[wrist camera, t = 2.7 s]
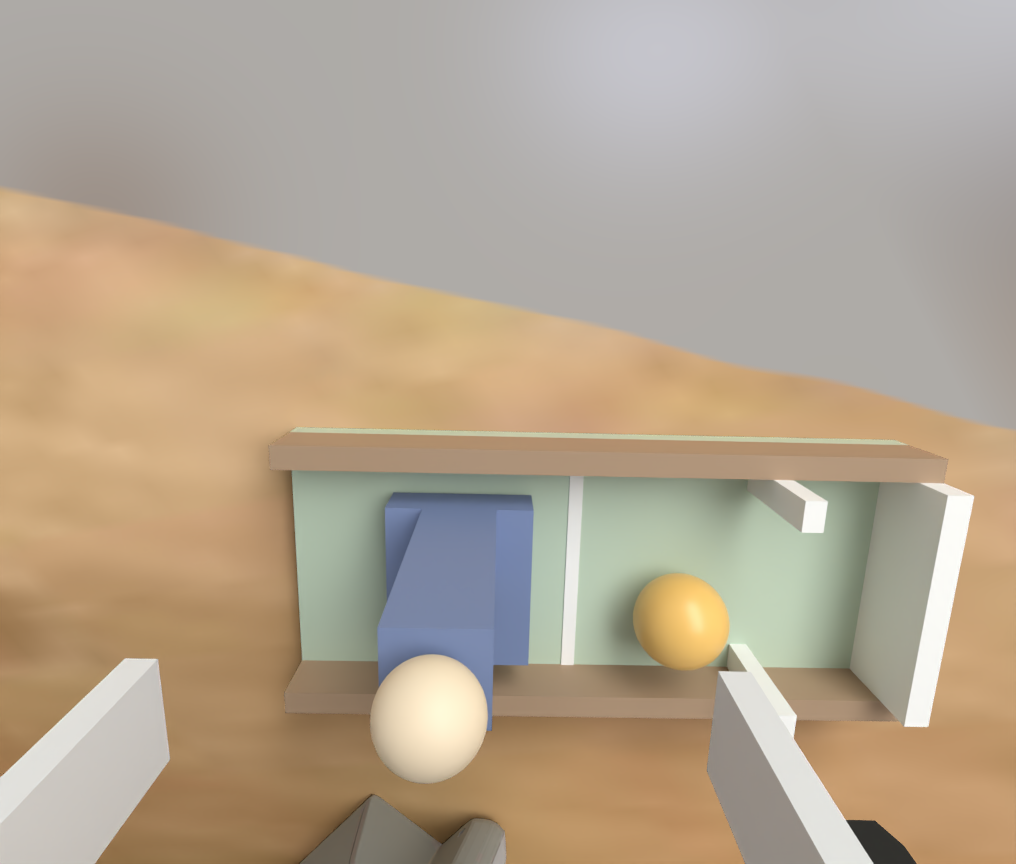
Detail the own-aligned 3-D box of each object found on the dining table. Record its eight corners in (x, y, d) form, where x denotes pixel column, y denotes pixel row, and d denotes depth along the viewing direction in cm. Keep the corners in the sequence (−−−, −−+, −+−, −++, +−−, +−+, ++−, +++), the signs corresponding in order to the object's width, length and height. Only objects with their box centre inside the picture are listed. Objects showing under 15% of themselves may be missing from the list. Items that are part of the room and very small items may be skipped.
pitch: (309, 666, 30) (262, 757, 24) (297, 427, 27) (240, 462, 21) (855, 674, 30) (940, 765, 24) (894, 439, 27) (1000, 478, 22)
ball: (621, 636, 28) (641, 690, 24) (627, 557, 27) (648, 600, 24) (706, 637, 28) (739, 691, 24) (714, 558, 27) (750, 601, 24)
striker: (396, 637, 28) (296, 957, 14) (393, 492, 26) (279, 697, 13) (526, 639, 28) (550, 959, 14) (531, 494, 26) (562, 701, 13)
